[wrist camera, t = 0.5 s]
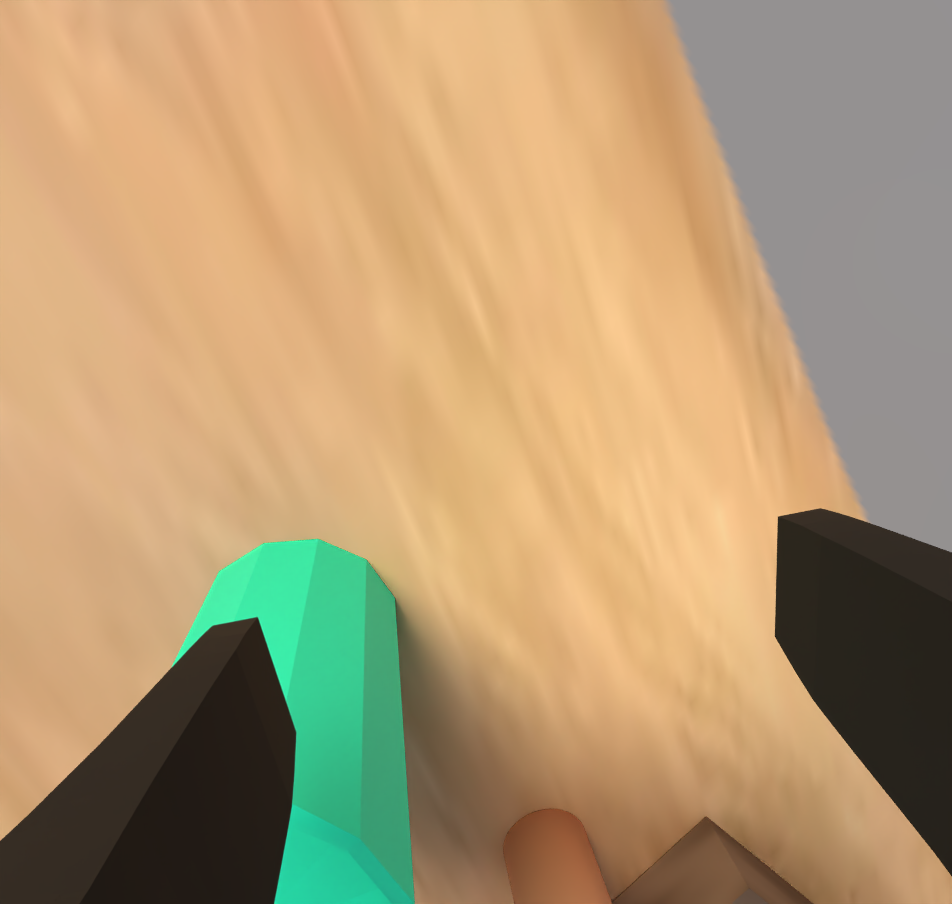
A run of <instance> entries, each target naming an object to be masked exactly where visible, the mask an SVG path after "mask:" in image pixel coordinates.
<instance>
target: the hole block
mask: <svg viewBox="0 0 952 904" xmlns="http://www.w3.org/2000/svg"><path fill="white" fill-rule="evenodd" d="M612 904H813V903H812V902H810V901H809V900H808V899H807V898H805V897H804V896H803V895H802V894H801V893H799V892H798V891H797V890H796V889H794V888H793V887H792V886H791V885H790V884H788V883H787V882H786V881H785V880H783V879H782V878H781V877H780V876H779V875H777V874H776V873H775V872H774V871H772V870H771V869H770V868H769V867H768V866H766V865H765V864H764V863H763V862H761V861H760V860H759V859H758V858H757V857H755V856H754V855H753V854H752V853H750V852H749V851H748V850H747V849H745V848H744V847H743V846H742V845H741V844H739V843H738V842H737V841H736V840H734V839H733V838H732V837H731V836H730V835H728V834H727V833H726V832H725V831H723V830H722V829H721V828H720V827H719V826H717V825H716V824H715V823H714V822H712V821H711V820H710V819H709V818H708V817H705V818H704V819H703V820H702V821H701V822H700V823H699V824H698V825H696V826H695V827H694V828H693V829H692V830H691V831H690V832H689V833H688V834H687V835H686V836H684V837H683V838H682V839H681V840H680V841H679V842H678V843H677V844H676V845H675V846H673V847H672V848H671V849H670V850H669V851H668V852H667V853H666V854H665V855H664V856H663V857H661V858H660V859H659V860H658V861H657V862H656V863H655V864H654V865H653V866H652V867H650V868H649V869H648V870H647V871H646V872H645V873H644V874H643V875H642V876H641V877H640V878H638V879H637V880H636V881H635V882H634V883H633V884H632V885H631V886H630V887H629V888H627V889H626V890H625V891H624V892H623V893H622V894H621V895H620V896H619V897H618V898H617V899H615V900H614V901H613V902H612Z"/></svg>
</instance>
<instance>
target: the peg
mask: <svg viewBox="0 0 952 904" xmlns="http://www.w3.org/2000/svg"><path fill="white" fill-rule="evenodd" d="M503 852H504V858H505V862H506V867H507V872H508V876H509V881H510V885H511V890H512V894H513V899H514V903H515V904H612V902H611V899H610V896H609V894H608V891H607V888H606V886H605V883H604V880H603V878H602V875H601V872H600V869H599V867H598V864H597V861H596V859H595V856H594V853H593V851H592V848H591V845H590V843H589V840H588V837H587V834H586V832H585V829H584V826H583V825H582V823H581V822H580V820H579V819H578V818H577V817H575V816H574V815H572V814H571V813H569V812H567V811H563V810H558V809H544V810H539V811H536V812H533V813H531V814H528V815H527V816H525V817H523V818H522V819H520V820H519V821H518V822H517V823H515V825H514V826H513V827H512V828H511V829H510V831H509V832H508V834H507V836H506V838H505V841H504V846H503Z"/></svg>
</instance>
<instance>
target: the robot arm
mask: <svg viewBox="0 0 952 904" xmlns="http://www.w3.org/2000/svg"><path fill="white" fill-rule="evenodd" d="M775 637H776V639H777V641H778V643H779V644H780V646H781V648H782V649H783V651H784V653H785V655H786V656H787V658H788V660H789V662H790V663H791V665H792V667H793V668H794V670H795V672H796V673H797V675H798V677H799V678H800V680H801V681H802V683H803V685H804V686H805V688H806V689H807V691H808V693H809V694H810V696H811V697H812V699H813V700H814V702H815V703H816V704H817V706H818V707H819V708H820V709H821V711H822V712H823V713H824V715H825V716H826V717H827V719H828V720H829V721H830V722H831V724H832V725H833V726H834V727H835V729H836V730H837V731H838V733H839V734H840V735H841V736H842V738H843V739H844V740H845V741H846V743H847V744H848V745H849V747H850V748H851V749H852V750H853V752H854V753H855V754H856V755H857V757H858V758H859V759H860V760H861V762H862V763H863V764H864V765H865V767H866V768H867V769H868V770H869V772H870V773H871V774H872V775H873V777H874V778H875V779H876V780H877V782H878V783H879V784H880V785H881V787H882V788H883V789H884V790H885V792H886V793H887V794H888V795H889V797H890V798H891V799H892V800H893V802H894V803H895V804H896V805H897V807H898V808H899V809H900V810H901V812H902V813H903V814H904V815H905V817H906V818H907V819H908V820H909V822H910V823H911V824H912V825H913V827H914V828H915V829H916V830H917V832H918V833H919V834H920V835H921V837H922V838H923V839H924V840H925V842H926V843H927V844H928V845H929V847H930V848H931V849H932V850H933V852H934V853H935V854H936V856H937V857H938V858H939V860H940V861H941V862H942V864H943V865H944V866H945V868H946V869H947V870H948V872H949V873H950V874H951V876H952V553H951V552H949V551H946V550H943V549H940V548H938V547H935V546H932V545H929V544H926V543H923V542H921V541H918V540H915V539H912V538H909V537H907V536H904V535H901V534H898V533H896V532H893V531H890V530H887V529H884V528H882V527H879V526H876V525H873V524H870V523H867V522H864V521H861V520H859V519H855V518H852V517H849V516H846V515H843V514H839V513H836V512H832V511H829V510H825V509H821V508H820V509H815V510H810V511H805V512H799V513H794V514H789V515H784V516H779V517H778V535H777V575H776V615H775ZM295 752H296V730H295V727H294V724H293V721H292V718H291V715H290V712H289V709H288V706H287V703H286V700H285V697H284V694H283V691H282V688H281V685H280V682H279V679H278V676H277V673H276V670H275V667H274V664H273V661H272V658H271V655H270V652H269V649H268V646H267V643H266V640H265V637H264V634H263V631H262V628H261V625H260V622H259V619H258V617H255V618H249V619H244V620H239V621H234V622H229V623H223V624H218V625H213V626H211V627H210V628H209V629H208V630H207V631H206V632H205V633H204V634H203V635H202V636H201V637H200V638H199V639H198V640H197V641H196V642H195V643H194V644H193V645H192V646H191V647H190V648H189V649H188V650H187V652H186V653H185V654H184V655H183V656H182V657H181V658H180V659H179V660H178V661H177V662H176V663H175V664H174V666H173V667H172V668H171V669H170V670H169V671H168V672H167V673H166V674H165V675H164V676H163V678H162V679H161V680H160V681H159V682H158V683H157V684H156V685H155V686H154V687H153V688H152V689H151V691H150V692H149V693H148V694H147V695H146V696H145V697H144V698H143V699H142V700H141V701H140V702H139V703H138V704H137V705H136V706H135V708H134V709H133V710H132V711H131V712H130V713H129V714H128V715H127V716H126V717H125V718H124V719H123V720H122V721H121V722H120V724H119V725H118V726H117V727H116V728H115V729H114V730H113V731H112V732H111V733H110V734H109V735H108V736H107V737H106V738H105V739H104V740H103V741H102V743H101V744H100V745H99V746H98V747H97V748H96V749H95V750H94V751H93V752H91V753H90V754H89V755H88V756H87V757H86V758H85V759H84V760H83V761H82V762H81V763H80V764H79V765H78V766H77V767H76V768H75V769H74V770H73V771H72V772H71V773H70V774H69V775H68V776H67V777H66V778H65V779H64V780H63V781H62V782H61V783H60V784H59V785H58V786H57V787H56V788H55V789H54V790H53V791H52V792H51V793H50V794H49V795H48V796H47V797H46V798H45V799H44V800H43V801H42V802H41V803H40V804H39V805H38V806H37V807H36V808H35V809H34V810H33V811H32V812H31V813H30V814H29V815H28V816H27V817H26V818H24V819H23V820H22V821H21V822H20V823H19V824H18V825H17V826H16V827H15V828H14V829H13V830H12V831H11V832H9V833H8V834H7V835H6V836H5V837H4V838H3V839H2V840H1V841H0V904H274V902H275V897H276V892H277V886H278V881H279V876H280V870H281V865H282V860H283V854H284V849H285V843H286V838H287V832H288V827H289V821H290V815H291V809H292V799H293V786H294V772H295Z"/></svg>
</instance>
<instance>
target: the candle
mask: <svg viewBox="0 0 952 904" xmlns="http://www.w3.org/2000/svg"><path fill="white" fill-rule="evenodd" d="M255 617H258V619H259V622H260V625H261V628H262V631H263V634H264V637H265V640H266V643H267V646H268V649H269V652H270V655H271V658H272V661H273V664H274V667H275V670H276V673H277V676H278V679H279V682H280V685H281V688H282V691H283V694H284V697H285V700H286V703H287V706H288V709H289V712H290V715H291V718H292V721H293V724H294V727H295V730H296V752H295V772H294V786H293V799H292V809H291V815H290V821H289V827H288V832H287V838H286V843H285V849H284V854H283V860H282V865H281V870H280V876H279V881H278V886H277V892H276V897H275V902H274V904H415V899H414V884H413V869H412V853H411V838H410V822H409V807H408V791H407V776H406V761H405V745H404V730H403V714H402V699H401V683H400V668H399V653H398V637H397V622H396V606H395V597H394V596H393V595H392V593H391V592H390V591H389V589H388V588H387V587H386V585H385V584H384V583H383V581H382V580H381V579H380V577H379V576H378V575H377V573H376V572H375V570H374V569H373V568H372V566H371V565H370V564H369V562H368V561H367V560H366V559H364V558H362V557H359V556H357V555H355V554H352V553H350V552H348V551H345V550H343V549H341V548H338V547H336V546H334V545H331V544H329V543H327V542H324V541H322V540H320V539H311V540H298V541H285V542H272V543H263V544H262V545H260V546H258V547H257V548H255V549H254V550H252V551H251V552H249V553H247V554H246V555H244V556H243V557H241V558H239V559H238V560H236V561H235V562H233V563H232V564H230V565H228V566H227V567H225V568H224V569H222V570H221V571H219V573H218V575H217V577H216V579H215V581H214V583H213V585H212V587H211V589H210V591H209V593H208V595H207V597H206V599H205V601H204V603H203V605H202V607H201V609H200V611H199V613H198V615H197V617H196V619H195V621H194V623H193V625H192V627H191V629H190V631H189V633H188V635H187V637H186V639H185V641H184V643H183V645H182V647H181V649H180V651H179V653H178V655H177V657H176V659H175V661H174V663H173V666H174V664H175V663H176V662H177V661H178V660H179V659H180V658H181V657H182V656H183V655H184V654H185V653H186V652H187V650H188V649H189V648H190V647H191V646H192V645H193V644H194V643H195V642H196V641H197V640H198V639H199V638H200V637H201V636H202V635H203V634H204V633H205V632H206V631H207V630H208V629H209V628H210V627H211V626H213V625H218V624H223V623H229V622H234V621H239V620H244V619H249V618H255ZM173 666H172V667H173Z"/></svg>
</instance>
